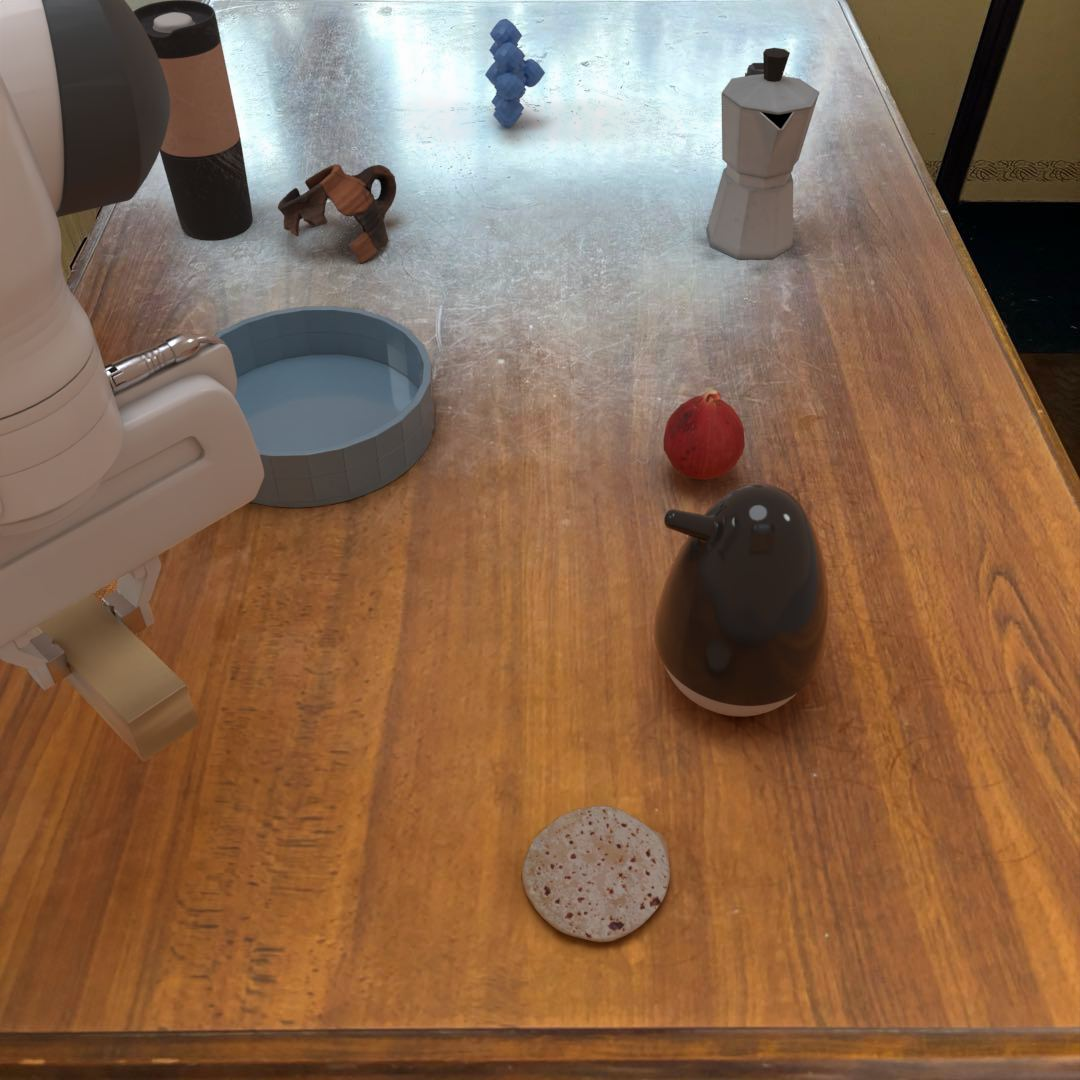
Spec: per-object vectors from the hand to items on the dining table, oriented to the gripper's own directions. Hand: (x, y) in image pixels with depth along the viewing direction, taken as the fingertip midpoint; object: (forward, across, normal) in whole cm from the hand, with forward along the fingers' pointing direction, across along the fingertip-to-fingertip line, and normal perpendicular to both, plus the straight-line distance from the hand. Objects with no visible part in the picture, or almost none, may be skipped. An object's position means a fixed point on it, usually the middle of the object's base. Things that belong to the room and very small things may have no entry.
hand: (93, 649), depth 53 cm
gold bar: (+2, 0, 0) cm, 2 cm away
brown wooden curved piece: (+14, -49, -43) cm, 66 cm away
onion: (+14, -44, +4) cm, 46 cm away
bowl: (+14, -28, -22) cm, 38 cm away
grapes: (+14, -78, -49) cm, 94 cm away
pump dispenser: (+14, -30, +18) cm, 37 cm away
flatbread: (+14, -14, +21) cm, 29 cm away
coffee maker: (+14, -77, -15) cm, 79 cm away
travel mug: (+15, -42, -55) cm, 70 cm away
